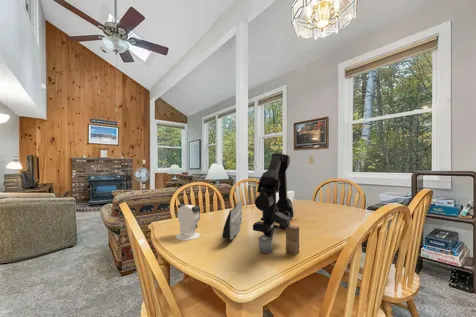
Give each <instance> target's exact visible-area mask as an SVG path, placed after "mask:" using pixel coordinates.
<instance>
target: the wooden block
mask: <svg viewBox="0 0 476 317" xmlns="http://www.w3.org/2000/svg"><path fill="white" fill-rule="evenodd" d="M285 252H286V253H287V254H291V255H295V256H297V254H298V253H300V226H299V225H293V224H290V225H288V226H287V227H286V229H285Z"/></svg>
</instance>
